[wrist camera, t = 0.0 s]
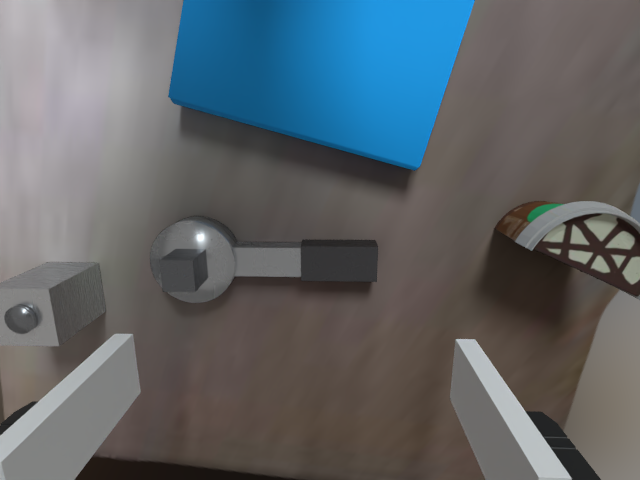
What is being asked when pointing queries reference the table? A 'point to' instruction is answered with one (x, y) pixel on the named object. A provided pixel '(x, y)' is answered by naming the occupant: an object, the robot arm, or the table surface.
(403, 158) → the book
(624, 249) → the food container
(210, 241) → the ratchet
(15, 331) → the grey block with knob
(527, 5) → the table surface
